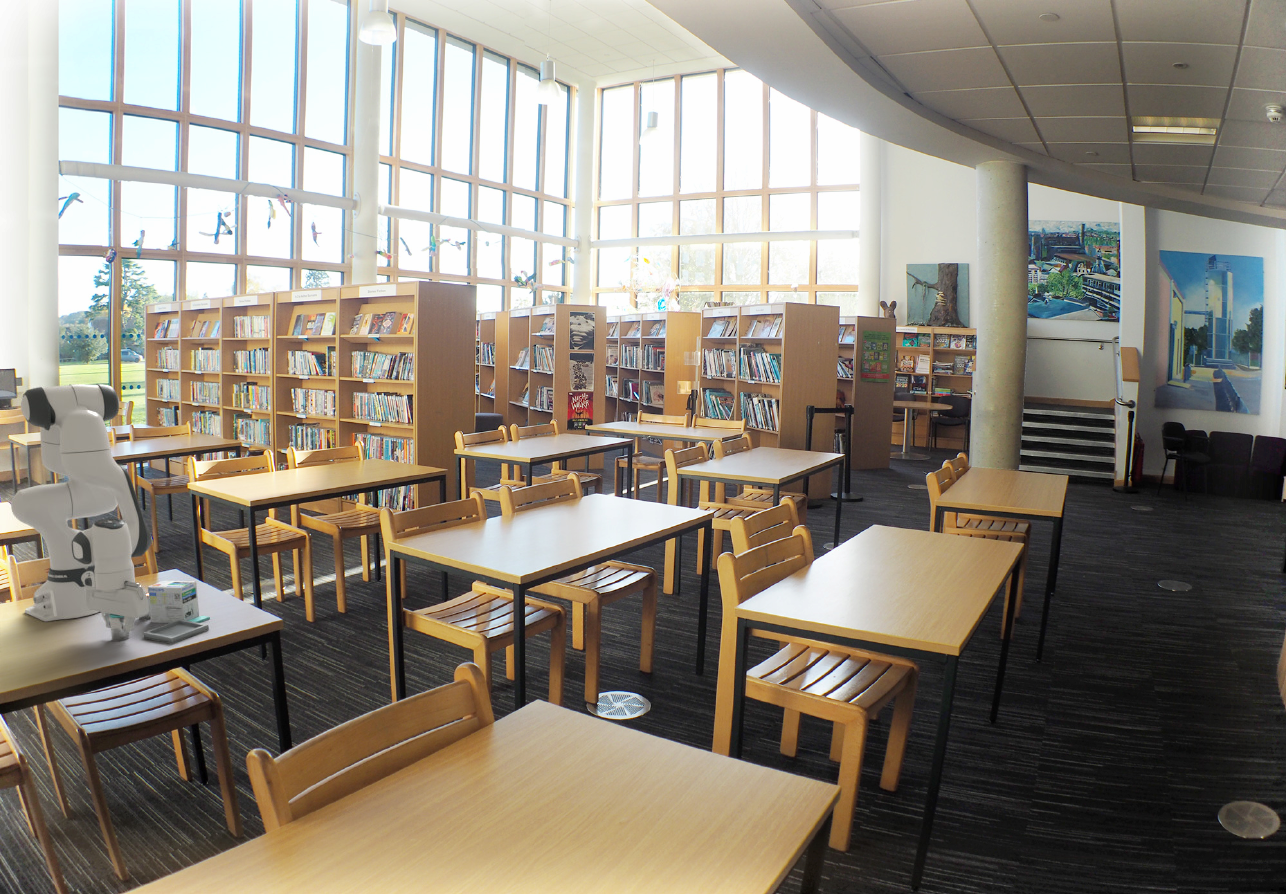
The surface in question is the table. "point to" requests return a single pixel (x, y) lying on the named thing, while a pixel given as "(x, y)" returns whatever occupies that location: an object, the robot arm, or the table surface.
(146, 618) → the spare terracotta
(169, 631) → the tray
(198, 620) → the label tile
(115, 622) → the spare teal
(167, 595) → the light bulb box
